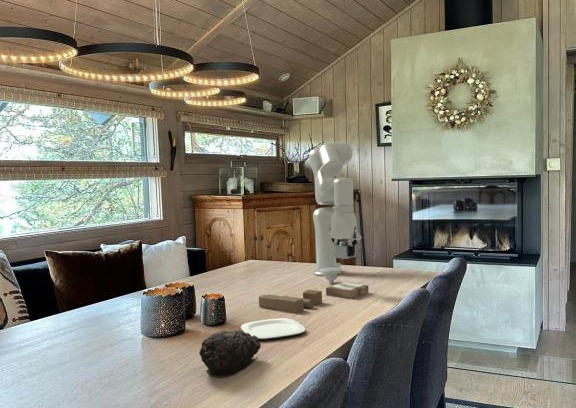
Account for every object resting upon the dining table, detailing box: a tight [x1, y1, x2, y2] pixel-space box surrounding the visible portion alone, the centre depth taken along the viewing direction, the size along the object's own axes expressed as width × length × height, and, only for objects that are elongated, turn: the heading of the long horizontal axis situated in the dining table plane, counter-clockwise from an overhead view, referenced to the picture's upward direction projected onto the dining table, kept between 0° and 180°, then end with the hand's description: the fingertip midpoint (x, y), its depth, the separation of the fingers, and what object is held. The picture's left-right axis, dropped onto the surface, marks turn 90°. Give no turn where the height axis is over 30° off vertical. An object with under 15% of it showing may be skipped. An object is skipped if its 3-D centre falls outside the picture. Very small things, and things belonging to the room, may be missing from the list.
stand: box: [325, 281, 369, 300], centre depth 203 cm, size 12×12×3 cm
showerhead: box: [320, 267, 343, 285], centre depth 224 cm, size 9×7×10 cm
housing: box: [334, 240, 357, 260], centre depth 203 cm, size 7×6×6 cm
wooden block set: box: [258, 289, 323, 314], centre depth 189 cm, size 17×6×18 cm
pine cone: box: [198, 329, 262, 378], centre depth 129 cm, size 10×18×10 cm, turn 153°
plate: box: [240, 317, 306, 340], centre depth 158 cm, size 18×18×2 cm
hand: (345, 255), depth 203 cm, fingers closed on housing, 5 cm apart
